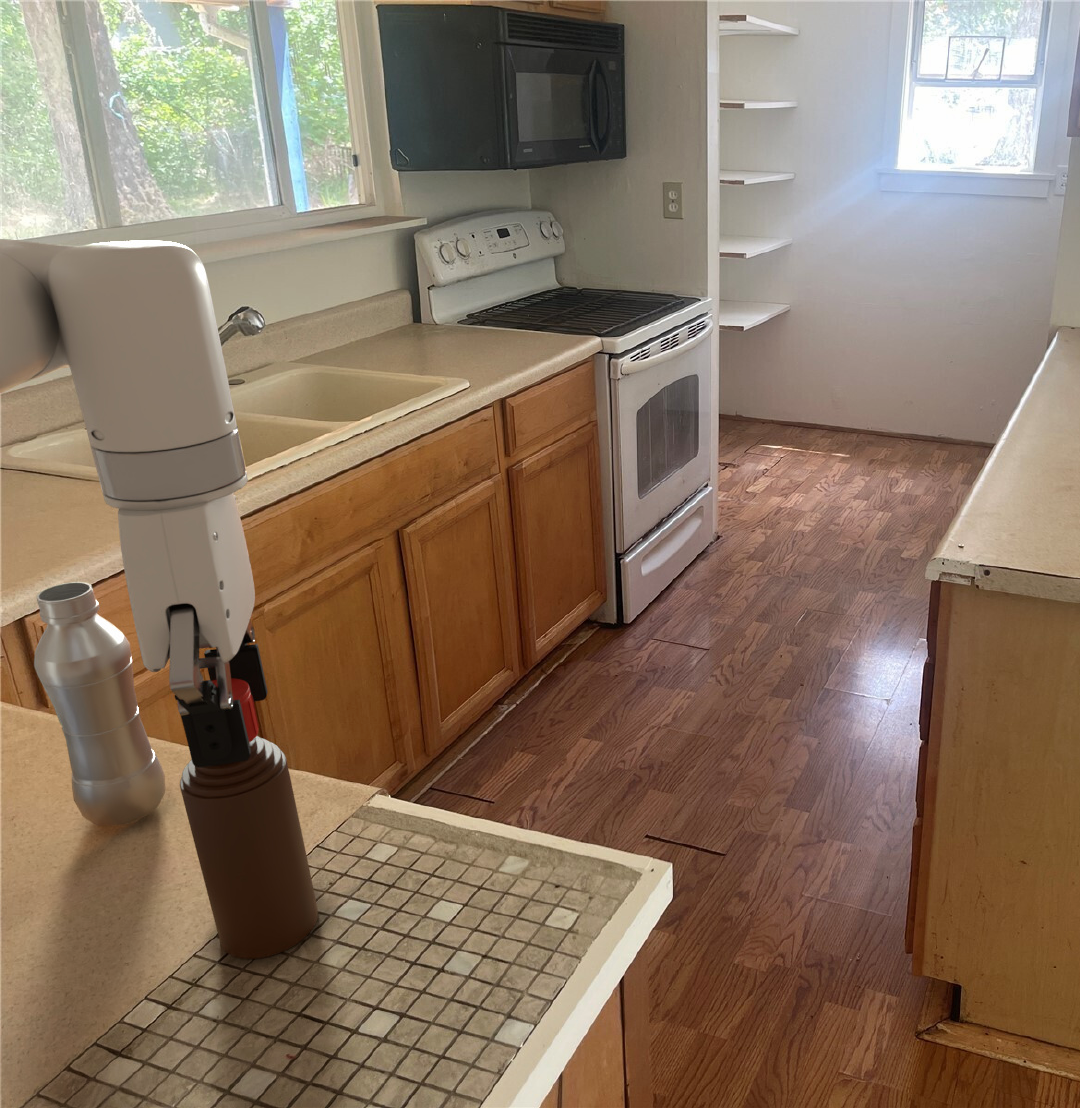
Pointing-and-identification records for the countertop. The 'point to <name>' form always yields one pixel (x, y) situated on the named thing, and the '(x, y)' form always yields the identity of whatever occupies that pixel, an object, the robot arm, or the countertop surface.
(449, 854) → the countertop surface
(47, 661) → the silver water bottle
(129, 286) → the robot arm
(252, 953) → the sauce bottle
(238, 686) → the cap
